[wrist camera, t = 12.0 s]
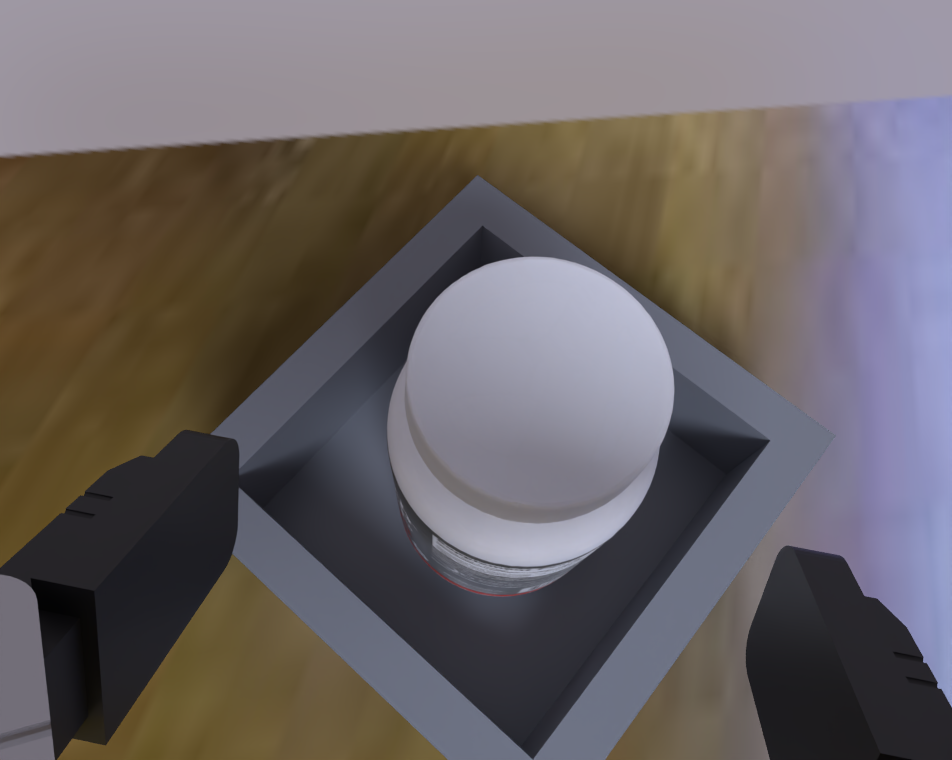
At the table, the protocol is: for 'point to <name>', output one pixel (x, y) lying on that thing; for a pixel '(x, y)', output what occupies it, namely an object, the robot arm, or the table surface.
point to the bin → (493, 617)
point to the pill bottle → (526, 422)
